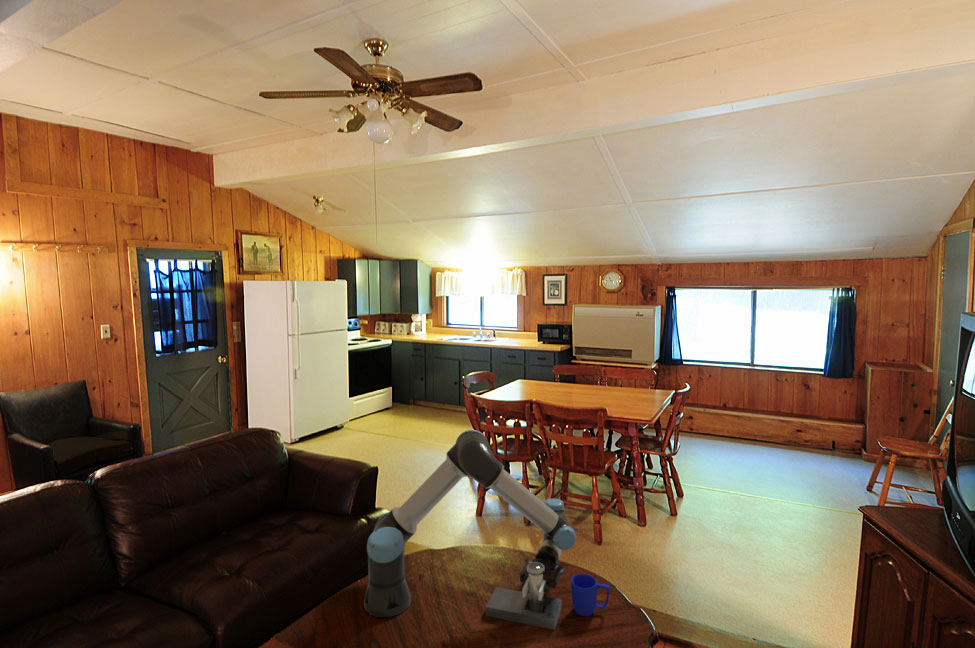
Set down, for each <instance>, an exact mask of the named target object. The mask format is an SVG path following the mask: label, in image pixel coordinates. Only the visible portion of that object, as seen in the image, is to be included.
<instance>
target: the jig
mask: <svg viewBox="0 0 975 648" xmlns="http://www.w3.org/2000/svg"><path fill="white" fill-rule="evenodd" d="M561 612H562V598H558V597H557V598H555V597H553V596H546V595H543V612H541V613H539V612H534V611H530V610H529V592H527V594H526V596H525V598H523V594H522V590H521V591H519V590H514V589H508V588H505V587H498V586H496V587H495V589H494V591H493V593H492V595H491V596H490V598H489V600H488V602H487V604H486V605H485V616H486V617H490V618H495V619H498V620H505V621H509V622H513V623H519V624H523V625H524V624H525V625H529V626H534V627H537V628H538V627H539V628H543V629H547V630H552V631H556V630H555V629H556V626H557V623H558V620H559V617H560V614H561Z"/></svg>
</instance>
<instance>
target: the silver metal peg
mask: <svg viewBox="0 0 975 648" xmlns="http://www.w3.org/2000/svg"><path fill="white" fill-rule="evenodd" d="M527 572H528V573H529V590H528V593H529V608H528V610H529V611H534V612H539V613H544V609H543V597H542V600H541V601H539V594H538V592H539V589H540V587H541V584H542V582H543V580H544V574H545V573H544V572H545V566H544V565H543V564H542V563H540V562H531V563H529V564H527Z"/></svg>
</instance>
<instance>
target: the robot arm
mask: <svg viewBox="0 0 975 648" xmlns="http://www.w3.org/2000/svg"><path fill="white" fill-rule="evenodd" d="M445 456H446V459H445V460H444V461H443V462H442V463H441V464H440V465H439V466H438V467H437V468H436V469H435V471H433V472H432V473H431V475H430V476H429V477H428V478H427V479H426V480H425V481H424V482H423V483H422V484H421V485H420V486H419V487H418V488H417V489H416V490H415V491H414V492H413V493H412V494H411V495H410V496H409V497H408V498H407V500H406V501H404V503H403V504H402V505H400V507H399V506H394V507H393V508H392V509H391V510H390V511H388V512H385V513H383V515H381V516H380V517H379V518H378V520H377V521H376V523H375V525H374V528H373V531H372V533H371V534H370V535H369V537H368V539H367V545H366V552H367V567H368V569H367V571H368V584H367V589H366V592H365V595H364V599H363V607H364V608H365V609H364V611H365V610H366V611H367V612H368V613H369V614H371V615H373V616H376V617H375V618H377V617H388V618H393V617H396V616H398V615H400V614H402V613H404V612H405V611H406V610H407V609H408V608H409V607H410V606H411V602H412V596H411V590H410V588H409V587H408V586H409V585H408V584H407V583H408V582H407V580H406V577H405V576H406V574H405V550H406V544H407V542H409V540H410V539H411V538H412V537H413V536H414V535H415V534H416V533H417V530H418V529H417V526H418V524H420V522H421V521H422V520H424V518H425V517H426V516H428V514H429V513H430V512H431V511H433V509H434V508H435V506H437V504H438V503H440V501H442V499H443V498H444V497H445V496H446V495H447V494H448V493H450V491H451V490H452V489H453V488H455V486H456V485H457V484H458V483H459V481H461V480H462V479H463V478H465V477H467V478H469V477H471V478H472V479H473V480H474V481H475V482H477V483H478V484H480V486H482V487H483V488H484V489H491V490H492V492H494V493H495V494H496V495H498V497H500V498H502V500H504V501H505V502H506V503H508V504H509V506H511V507H513V508H514V509H515V510H516V511H517V512H518V513H520V514H521V515H522V516H524V517H525V518H526V519H527V520H528V521H530V522H531V523H532V524H533V525H535V526H536V527H537V528H538V529H539V530H540V531H542V532H543V540H542V542H541V545H540V547H539V549H538V551H537V553H536V555H535V558H534V559H532V561H529V559H527V558H525V559H524V564H523V567H522V569H521V571H520V573H519V582H520V583H521V588H522V590H521V592H522V594H523V598H525V596H526V594H527V593H529V573H528V572H527V564H529V563H531V562H540V563H542V564H543V565H544V566H545V572H544V573H543V574H544V575H545V579H543V582H542V584H541V587H540V589H539V592H538V594H539V601H541V600H542V597H543V596H544V594H547V593H548V592H549V590H550V588H552V589H556V588H557V586H558V583H559V581H560V578H561V576H563V575H564V565H563V564H560V565H558V563H559V560H560V557H561V556H562V552H563V551H568V550H570V549H572V548H573V547H574V546H575V545H576V542H577V535H576V532H575V530H574V528H573V527H572V525H571V523H570V521H569V519H568V518H567V516H566V514H565V505H564V501H563V500H561V499H558V498H553V497H552V498H548V499H545V500H544V501H542V499H540V498H539V497H538V496H536V495H535V494H534V493H533V492H532V491H530V489H528V488H527V487H525V486H524V485H523V484H522V483H521V482H520V481H518V480H517V479H516V478H515V477H513V475H511V474H510V473H509V472H508V471H506V469H504V467H505V466H504V464H503V463H502V462H501V461H499V460H498V459H497V457H495V455H494V453H493V452H492V450H491V447H490V442H489V440H488V438H487V437H486V436H485V435H484V434H483V433H482V432H481V431H479V430H477V429H467V430H465V431H462V432H461V433H460V434H459V435H458V436H457V439H456V441H455V444H453V446H452V447H450V449H449V450H448V451H447V452H446V455H445ZM552 572H554V573H553V576H552V579H551V573H552ZM366 611H365V612H366ZM367 612H366V613H367ZM368 613H367V614H368ZM369 614H368V615H369ZM371 615H370V616H371ZM395 615H396V616H395ZM373 616H372V617H373ZM392 616H393V617H392Z"/></svg>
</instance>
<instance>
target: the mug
mask: <svg viewBox="0 0 975 648" xmlns="http://www.w3.org/2000/svg"><path fill="white" fill-rule="evenodd" d="M570 587H571V588H570V589H571V598H572V608H573V611H574V612H575V613H576V614H577V615H579V616H581V617H589V616H591V615H593V614H594V613H595V610H596V608H598V609H601V610H603V609H605V608H606V607H607V606H608V603H609V600H610V599H609V597H610V585H609V584H604V583H598V581H597V579H596V578H595V577H594V576H592V575H590V574H586V573H577V574H575V575H573V576H571V578H570ZM602 588H603V589H606V598H605V601H604V603H603V604H598V603H597V599H598V591H599V589H602Z"/></svg>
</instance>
